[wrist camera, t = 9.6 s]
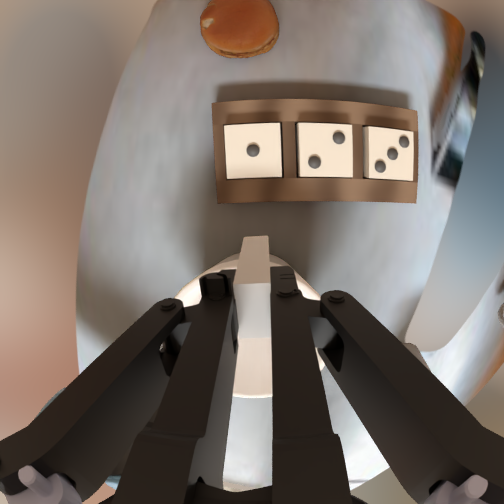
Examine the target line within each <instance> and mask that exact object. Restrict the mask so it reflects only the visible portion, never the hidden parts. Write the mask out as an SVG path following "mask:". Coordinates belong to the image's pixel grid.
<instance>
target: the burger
mask: <svg viewBox="0 0 504 504" xmlns="http://www.w3.org/2000/svg"><path fill="white" fill-rule="evenodd" d="M200 26H201V34H202V36H203V38H204V40H205V41H206V43H207V45H208V46H209V47H210V49H211V50H213V51H214V52H216V53H217V54H219V55H221V56H225V57H227V58H248V57H253V56H256V55H259V54H261V53H266V52H268V51H269V50H271V48H272V47H273V46H274V45H275V43H276V41H277V39H278V36H279V23H278V19H277V16H276V13H275V10H274V8H273V6H272V4H271V3H270V2H269V1H268V0H212V1H211V2H210V3H209V4H208V7H207V8H206V9H205V10H204V11H203V13H202V15H201V17H200Z"/></svg>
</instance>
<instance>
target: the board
mask: <svg viewBox="0 0 504 504" xmlns="http://www.w3.org/2000/svg"><path fill="white" fill-rule="evenodd" d="M212 120H213V139H214V156H215V172H216V186H217V200H218V204H220V203H243V202H277V201H365V202H397V203H416V199H417V183H418V116H417V111H415V110H409V109H404V108H398V107H392V106H385V105H377V104H369V103H360V102H350V101H337V100H319V99H260V100H241V101H228V102H217V103H212ZM259 123H281V131H282V157H283V176H282V177H257V178H234V179H227V169H226V152H225V134H224V126H226V125H240V124H259ZM295 123H327V124H346V125H352V141H353V177H300V176H296V145H295ZM362 126H365V127H368V126H370V127H380V128H389V129H396V130H404V131H410V132H413V141H414V159H413V181H408V180H394V179H378V178H367V177H363V130H362Z"/></svg>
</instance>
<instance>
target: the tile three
mask: <svg viewBox="0 0 504 504" xmlns="http://www.w3.org/2000/svg"><path fill="white" fill-rule="evenodd" d="M362 130H363V176H364V177H367V178H378V179H394V180H408V181H413V159H414V141H413V132H410V131H404V130H396V129H389V128H380V127H370V126H368V127H362Z"/></svg>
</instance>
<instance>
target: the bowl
mask: <svg viewBox="0 0 504 504" xmlns="http://www.w3.org/2000/svg"><path fill="white" fill-rule="evenodd" d="M239 256H240V253H238V254H234V255H232V256H230V257H228V258H225V259H224V260H222V261H221V262H219V263H218V264H216V265H215V266H213V267H212V268H210V269H208V270H206V271H205V272H203V273H202V274H200V275H199V276H197V277H196V278H194V279H193V280H192V281H190V282H189V283H188V284H186V285H185V286H184V287H183V288H182V289H181V290H180V291H179V292H178V294H177V295H176V296H175V297H174V298H176V299H179V300H181V301H182V302H183V305H184V307H187V306H192V305H196V304H199V302H200V300H201V297H202V296H201V290H200V284H199V278H200V277H201V276H203V275H205V274H208V273H213V272H220V271H221V270H226V269H237V265H238V260H239ZM269 261H270V267H273V266H290V265H289V264H287V263H286V262H285V261H284V260H282V259H280V258H278V257H277V256H274V255H271V254H269ZM290 267H291V266H290ZM291 268H292V267H291ZM294 273H295V277H296V281H297V285H298V289H300V290H301V292H302V294H303V296H304V297H305V298H308V299H313V300H320V298H321V297H320V295H319V294H318V293H317V292H316V291H315V290H314V289H313V288H312V287H311V286H310V285H309V284H308V283H307V282H306V281H305V280H304V279H303V278H302V277H301V276H300V275H299V274H298V273H297V272H296V271H295V270H294ZM238 344H239V347H238V355H237V363H236V371H235V379H234V387H233V395H232V396H237V397H245V398H264V397H271V396H272V351H271V338H246V339H239V333H238ZM315 349H316V353H317V358H318V362H319V367H320V371H321V370H322V369H323V367H324V366H325V363H324V362H323V360H322V359H321V357H320V355H319V354H318V351H317V348H315Z"/></svg>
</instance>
